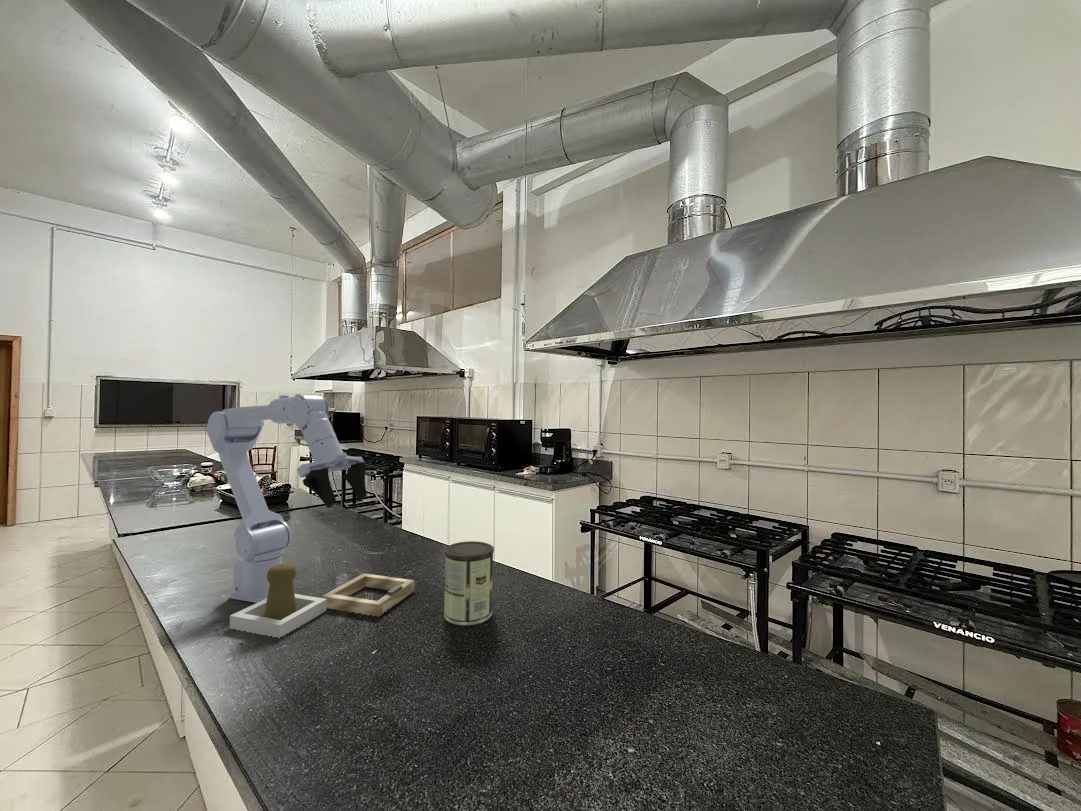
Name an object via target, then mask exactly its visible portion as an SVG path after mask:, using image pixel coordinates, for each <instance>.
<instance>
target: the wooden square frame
mask: <svg viewBox="0 0 1081 811" xmlns="http://www.w3.org/2000/svg"><path fill="white" fill-rule="evenodd" d="M415 584H416V583H415V579H407V578H401V577H399V578H398V577H392V576H388V575H387V576H385V575H378V574H371V573H362V574H359V575H358V576H356V577H355V578H353V579H351V580H349V581H347V582H345V583H344V584H342V585H340V586H338V587H336V588H334V589H332V590H331V591H329V592H327V593H325V594H323V595H322V597H321V598H324V599H327V609H330V610H334V609H335V611H339V612H340V611H341V612H346V611H347V612H346V613H352V612H354V613H353V614H358V613H361V614H360V615H364V614H366V615H365V616H370V615H372V616H371V617H375V616H377V618H379V617H381V616H383V614H384V612H385V613H386V612H387V611H389V610H390V609H391V608H393V607H394V606H396V605H397V604H399V603H400V602H401V601H402V600H404V599H405V598H406V597H408V596H410V595H411V594H412V593H413V592H415ZM363 588H370V589H371V588H373V589H379V590H386V591H387V593H386V594H385V595H384V596H382V597H380V598H379V599H378V600H374V599H373V600H372V599H367V598H361V597H360V598H359V597H353V596H352V595H353V594H355V593H356V592H358V591H360V590H362V589H363ZM395 604H396V605H395ZM392 606H393V607H392ZM388 609H389V610H388Z"/></svg>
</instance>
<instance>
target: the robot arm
mask: <svg viewBox="0 0 1081 811" xmlns="http://www.w3.org/2000/svg"><path fill="white" fill-rule="evenodd" d="M329 411H330V405H329V401H328V400H327V398H326V397H324V396H322V395H318V394H317V395H313V394H310V395H309V394H302V393H296V394H295V395H294V396H290V395H286V394H285V395H284V394H281V395H279V397H278V398H274V399H273V400H271V401H270V403H269V404H267V405H253V406H252V405H251V406H239V407H234V408H233V407H232V408H226V409H223V410H221V411H218V410H217V411H214V412H213V413H211V415H210V416H209V418H208V421H207V426H206V433H207V435H208V437H209V438H208V439H209V441H210V444H211V446H212V448H213V449H212V450H213V451H215V452H217V453H218V457H219V460H220V463H221V465H222V468H223V471H224V472H225V475H226V478H227V481H228V483H229V486H230V489H231V491H232V495H233V497H234V500H235V502H236V504H237V508H238V511H239V513H240V515H241V517H242V518H241V519H242V521H241V522H240V523H239V524H238V525H237V526H236V528H235V529H234V531H233V534H234V539H235V550H236V553H237V555H239V557H238V558H237V560H236V561H235V563H234V564H233V569H232V590H231V592H232V594H230V595H228V598H229V599H232V600H237V601H238V600H239V601H244V602H249V603H253V604H256V603H258V602H260V601H262V600H264V599H266V598H267V596H268V591H269V585H270V583H269V582H268V580H267V572H268V570H269V569H270V568H271V567H272V566H274V565H277V564H283V554H285V553H286V549H287V548H289V546H290V545H291V542H292V540H293V537H292V536H293V534H292V530H291V528H290V527H289V525H288V524H287V523H286V522H285V520H284V519H283V517H282V515H281V514H279V513H277V512H273V511H271V510H269V507H268V505H267V502H266V500H265V496H264V495H263V492H262V490H261V487H260V485H259V481H258V480H257V476H256V475H255V472H254V470H253V467H252V464H251V463H250V462H251V461H250V460H249V457H248V454H247V452H249V451H250V450H251V449H253V448H254V446H255V445H256V443H257V441H258V439H259V437H260V435H261V432H262V431H263V428H264V426H265V421H268V420H271V422H273V423H275V424H280V425H283V424H293V423H294V424H295V425H296V428H297V429H299V430H301V433H302V436H303V438H304V441H305V443H306V444H307V447H308V450H309V452H310V454H311V457H312V460H313V461H312V462H308V463H302V464H301V465H300V466H298V468H296V471H297V473H298V476H299V478H303V480H302V483H303V486H305V487H306V488H308V489H310V490H311V491H312V492H313V493H315V494H316V496H318V497H319V499H320V500H321V501H322V502H323V504H324V505H325V506H326V508H327V509H330V508H331V507H333V506H334V505H335V504H337V499H336V495H335V493H334V490H333V488H332V484H331V481H330V475H329V472H330V473H331V472H336V471H338V472H339V471H343V470H347V471H346V473H345V474H344V475H343V476H342V477H343V478H344V479H345V480H346V482H347V483H348V484H349V485H350V487H351V489H352V491H353V493H354V494H355V497H356V498H357V500H358V501H362V500H363V499H364V498H366V497H367V496H368V494H367V488H366V471H367V470H366V469H367V463H366V461H364V459H363V457H362V456H353V455H352V456H351V455H347V452H344V450H343V449H342V447H341V444H340V442H339V440H338V438H337V434H336V432H335V431H334V428H333V426H332V424H331V422H330V420H329V417H328V415H329Z"/></svg>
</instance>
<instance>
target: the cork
mask: <svg viewBox="0 0 1081 811" xmlns="http://www.w3.org/2000/svg"><path fill="white" fill-rule="evenodd" d="M296 575H297V569H296V566H295V565H294V564H292V563H290V562H284V563H283V562H282V564H277V565H274V566H272V567H271V568H270V569H269V570H268V572H267V580H268V582H269V583H270V585H269V591H268V596H267V602H266V608H265V613H264V616H263V617H266V618H271V619H277V620H282V619H284V618H285V617H287V616H289V615H291V614H293V613H295V612H296V611H297V610H296V602H295V594H296V593H295V586H294V580H295V579H296Z"/></svg>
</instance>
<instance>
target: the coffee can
mask: <svg viewBox="0 0 1081 811" xmlns="http://www.w3.org/2000/svg"><path fill="white" fill-rule="evenodd" d="M494 551H495V547H494V546H493V545H491V544H490V543H487V542H484V541H473V540H472V541H471V540H469V541H460V542H455V543H452V544H449V545H447V546H446V547H445V549H444V555H445V562H444V565H445V568H444V571H445V572H444V611H443V612H444V614H443V618H444V619H445V621H447V622H448V623H451V624H453V625H458V626H475V625H479V624H482V623H485V622H486V621H488V620H490V618H491V617H492V615H493V578H494V576H493V572H494V568H493V567H494Z"/></svg>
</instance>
